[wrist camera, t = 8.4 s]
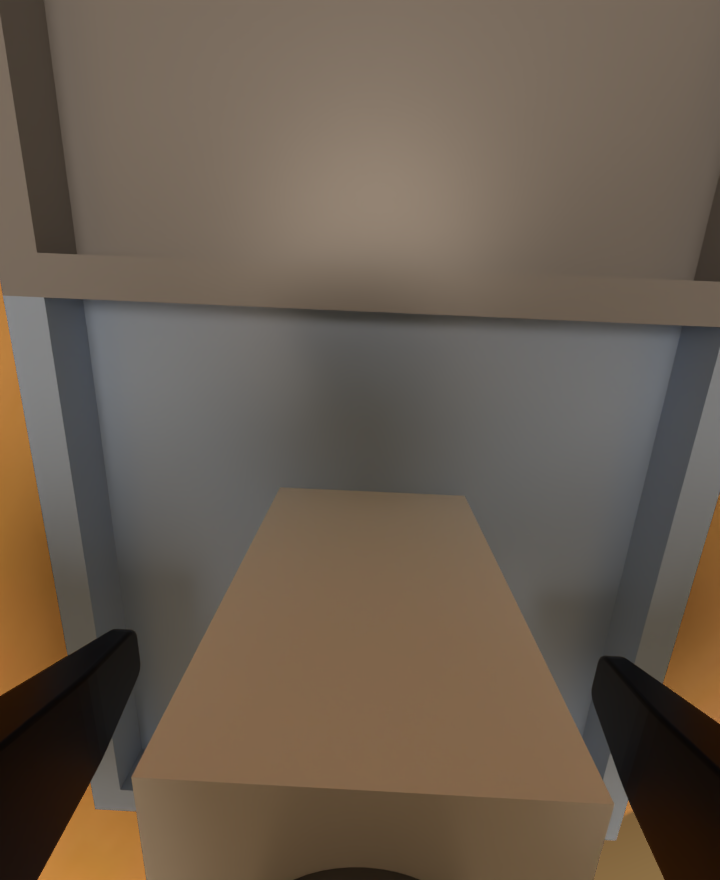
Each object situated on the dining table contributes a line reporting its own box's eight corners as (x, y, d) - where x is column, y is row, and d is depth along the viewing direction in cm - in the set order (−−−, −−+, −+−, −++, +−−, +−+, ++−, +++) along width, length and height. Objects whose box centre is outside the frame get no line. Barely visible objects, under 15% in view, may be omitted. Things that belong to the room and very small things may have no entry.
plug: (464, 495, 11) (757, 1100, 3) (447, 647, 12) (604, 1373, 4) (279, 487, 11) (-9, 1049, 3) (282, 639, 12) (93, 1335, 4)
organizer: (1010, -847, 6) (1242, -1267, 4) (589, 781, 14) (616, 840, 12) (-108, -854, 6) (-278, -1261, 4) (125, 754, 14) (95, 808, 13)
